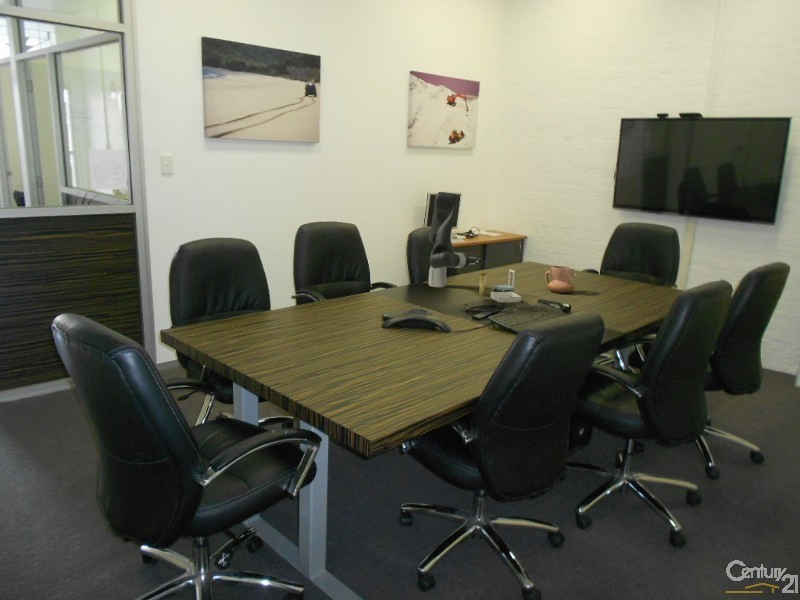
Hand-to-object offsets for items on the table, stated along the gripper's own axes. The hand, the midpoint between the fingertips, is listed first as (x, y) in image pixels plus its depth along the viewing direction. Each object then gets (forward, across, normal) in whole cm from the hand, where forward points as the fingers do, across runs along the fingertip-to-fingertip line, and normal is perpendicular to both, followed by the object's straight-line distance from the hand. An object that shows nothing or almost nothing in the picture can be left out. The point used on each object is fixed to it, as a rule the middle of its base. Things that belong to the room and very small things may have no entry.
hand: (475, 260), depth 304 cm
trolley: (+20, -8, +18) cm, 28 cm away
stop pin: (+11, 0, +19) cm, 22 cm away
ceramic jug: (+52, -26, +16) cm, 60 cm away
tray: (+10, -14, +19) cm, 26 cm away
